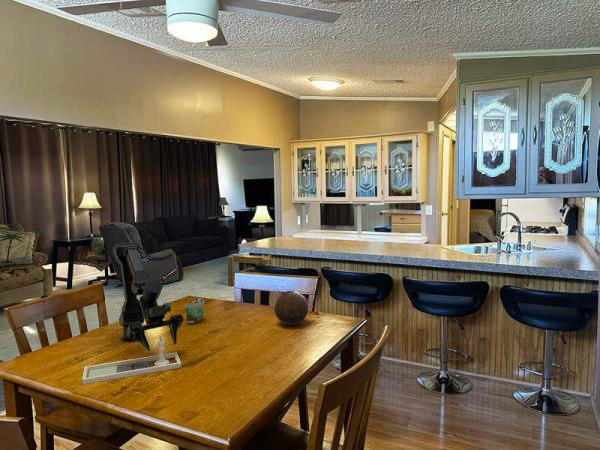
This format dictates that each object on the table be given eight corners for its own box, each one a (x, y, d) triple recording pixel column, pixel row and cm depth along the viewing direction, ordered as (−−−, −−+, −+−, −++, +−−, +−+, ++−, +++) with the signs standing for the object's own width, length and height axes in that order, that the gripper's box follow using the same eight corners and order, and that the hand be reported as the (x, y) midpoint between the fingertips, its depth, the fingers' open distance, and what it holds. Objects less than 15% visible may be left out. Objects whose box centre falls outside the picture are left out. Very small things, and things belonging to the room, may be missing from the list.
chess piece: (161, 368, 144) (159, 339, 143) (151, 365, 146) (150, 337, 146) (172, 363, 148) (171, 335, 147) (162, 360, 151) (161, 333, 150)
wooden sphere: (313, 327, 185) (313, 293, 184) (281, 331, 180) (280, 296, 178) (300, 317, 199) (300, 286, 198) (270, 321, 193) (269, 289, 192)
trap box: (176, 356, 154) (176, 352, 154) (181, 367, 144) (181, 363, 144) (84, 370, 143) (84, 366, 142) (82, 384, 133) (82, 379, 132)
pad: (116, 367, 145) (116, 365, 145) (117, 377, 138) (116, 375, 138) (89, 371, 142) (89, 370, 142) (88, 381, 134) (88, 380, 134)
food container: (198, 326, 188) (197, 304, 187) (185, 325, 190) (184, 303, 189) (209, 318, 200) (209, 297, 199) (197, 317, 202) (196, 296, 201)
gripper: (127, 300, 143) (139, 341, 135) (180, 291, 154) (194, 329, 146) (121, 318, 149) (132, 358, 142) (173, 308, 161) (186, 345, 153)
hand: (162, 347), depth 146 cm, fingers open, 9 cm apart
